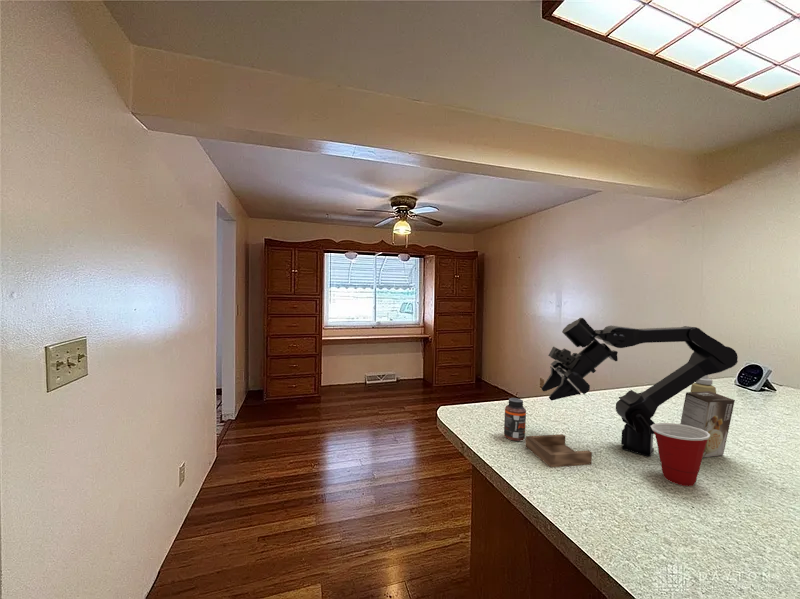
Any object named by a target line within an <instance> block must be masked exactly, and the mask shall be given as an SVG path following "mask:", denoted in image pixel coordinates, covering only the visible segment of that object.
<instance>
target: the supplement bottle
mask: <svg viewBox="0 0 800 599" xmlns="http://www.w3.org/2000/svg"><path fill="white" fill-rule="evenodd" d="M523 405H524V401H523V399H521V398H518V397H517V398H516V397H511V398H510V397H509V398H508V404H507V405H506V406H505V408H504V421H503V422H504V423H503V424H504V426H503V436H504V437H505V438H506V439H508V440H510V441H512V442H521V441H524V440H526V421H527V410H526V408H525V407H524V406H523Z"/></svg>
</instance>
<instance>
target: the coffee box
mask: <svg viewBox="0 0 800 599" xmlns="http://www.w3.org/2000/svg"><path fill="white" fill-rule="evenodd" d="M734 405H735V399H734V398H731V397H730V398H729V397H728V396H724V395H722V394H719V393H717V392H716V393H714V392H711V391H702V392H691V391H690V392H685V397H684V401H683V408H682V414H681V418H680V423H679V424H682V425H687V426H692V427H696V428H699V429H702V430H704V431H706V432H708V433H709V434H710V437H709V439H708V440H707V444H706V447H705V449H704V453H703V457H702V459H703V458H708V457H710V458H711V457H717V456H724V454H725V448H726V443H727V438H728V434H729V431H730V430H729V429H730V424H731V420H732V415H733V411H734V407H735V406H734Z"/></svg>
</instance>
